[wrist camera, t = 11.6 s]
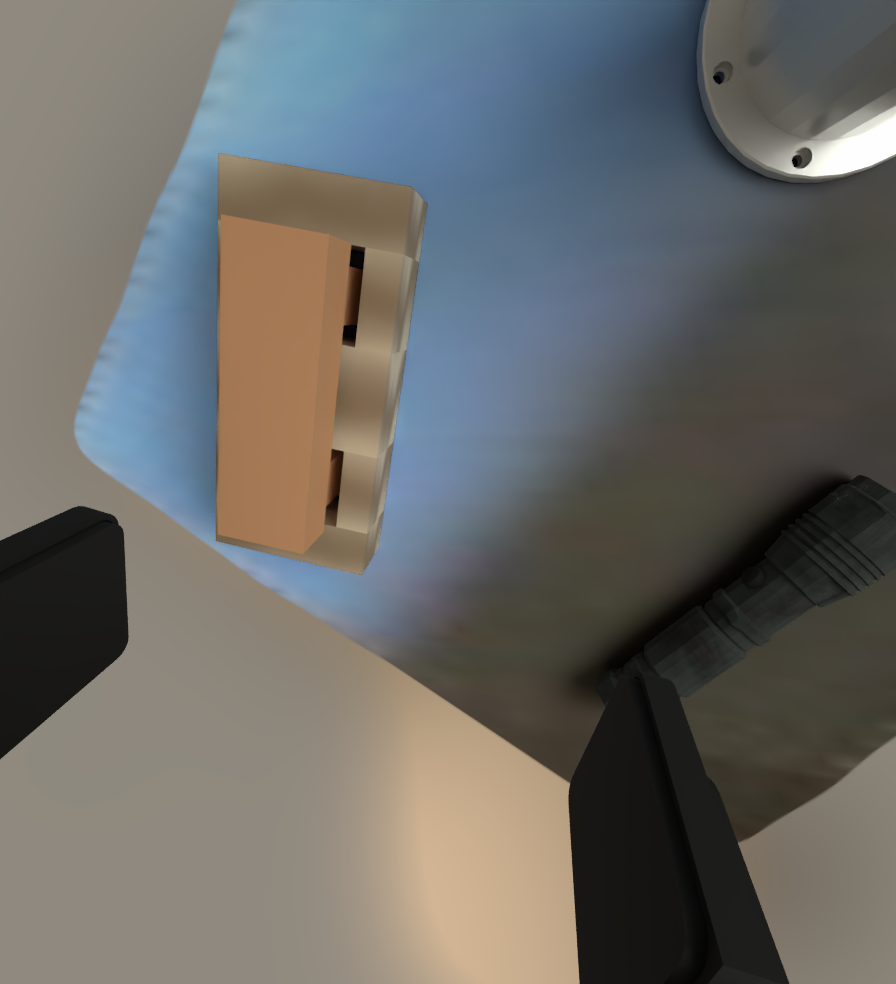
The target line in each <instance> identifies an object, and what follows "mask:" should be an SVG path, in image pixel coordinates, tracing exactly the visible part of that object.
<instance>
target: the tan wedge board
mask: <svg viewBox="0 0 896 984" xmlns="http://www.w3.org/2000/svg"><path fill="white" fill-rule="evenodd" d="M350 254H351V243H349V242H346V241H344V240H342V239H339V238H337V237H334V236H332V235H330V234H325V233H319V232H314V231H309V230H303V229H298V228H292V227H287V226H282V225H276V224H271V223H266V222H260V221H255V220H250V219H244V218H239V217H233V216H228V215H223V214H221V265H220V364H219V463H218V535H222V536H227V537H231V538H235V539H239V540H244V541H248V542H252V543H257V544H261V545H265V546H269V547H274V548H278V549H282V550H286V551H291V552H295V553H299V554H304V553H305V552H306V551H307V550H308V548H309V547H310V546H311V545H312V544H313V543H314V542H315V541H316V540H317V539H318V537H319V536H320V535H321V534H322V533H323V532H324V522H325V511H326V506H327V505H328V504H329V503H330V502H331V501H332V500H333V499H334V498H335V497H336V496H337V495H338V494H339V493H340V486H341V477H342V467H343V458H344V451H340V450H335V449H332V439H333V429H334V419H335V408H336V398H337V388H338V377H339V367H340V357H341V346H342V336H343V326H344V325H357V324H358V315H359V306H360V296H361V287H362V277H363V270H361V269H357V268H354V267H350V266H349V264H350Z"/></svg>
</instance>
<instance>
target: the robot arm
mask: <svg viewBox="0 0 896 984" xmlns="http://www.w3.org/2000/svg"><path fill="white" fill-rule="evenodd" d="M696 55H697V82H698V87H699V91H700V96H701V100H702V105H703V109H704V111H705V114H706V116H707V118H708V120H709V123H710V125H711V127H712V129H713V132H714V133H715V135H716V136H717V137H718V139H719V140H720V141H721V143H722V144H723V145H724V147H725V148H726V149H727V151H728V152H729V153H730V154H732V155H733V156H734V157H735V158H736V159H738V160H739V161H740V162H741V163H742V164H744V165H745V166H746V167H748V168H750V169H752V170H754V171H756V172H758V173H760V174H762V175H764V176H766V177H768V178H773V179H777V180H782V181H786V182H791V183H820V182H825V181H830V180H835V179H841V178H845V177H848V176H851V175H853V174H856V173H859V172H861V171H864V170H867V169H869V168H872V167H874V166H876V165H878V164H880V163H882V162H884V161H886V160H888V159H891V158H893V157H895V156H896V0H706V3H705V7H704V10H703V14H702V17H701V21H700V28H699V36H698V44H697V52H696ZM716 75H718V76H719V77H720V78H721V84H720V85H719V84H717V83H715V81H714V79H713V76H716ZM792 158H795V159H797V166H796V168H795V167H794V166H793V164H792ZM127 643H128V616H127V595H126V572H125V551H124V533H123V529H122V528H121V526H119V525H118V521H117V519H116V518H115V517H114V516H113V515H111V514H108V513H104V512H101V511H97V510H94V509H91V508H87V507H83V506H82V507H81V506H78V507H74V508H72V509H69V510H67V511H65V512H63V513H60V514H59V515H56V516H54V517H52V518H49V519H47V520H45V521H43V522H41V523H38V524H36V525H34V526H32V527H29V528H27V529H25V530H23V531H21V532H18V533H16V534H14V535H12V536H10V537H7V538H5V539H3V540H1V541H0V759H1V758H2V757H3V756H4V755H6V754H7V753H8V752H9V751H10V750H12V749H13V748H14V747H15V746H16V745H17V744H18V743H20V742H21V741H22V740H23V739H24V738H25V737H27V736H28V735H29V734H30V733H31V732H33V731H34V730H35V729H36V728H37V727H38V726H39V725H41V724H42V723H43V722H44V721H45V720H46V719H48V718H49V717H50V716H51V715H52V714H53V713H55V712H56V711H57V710H58V709H59V708H60V707H62V706H63V705H64V704H65V703H66V702H67V701H68V700H70V699H71V698H72V697H73V696H74V695H75V694H77V693H78V692H79V691H80V690H81V689H82V688H84V687H85V686H86V685H87V684H88V683H90V682H91V681H92V680H93V679H94V678H95V677H96V676H98V675H99V674H100V673H101V672H102V671H104V670H105V668H107V667H108V666H109V665H110V664H112V663H113V662H114V661H115V660H116V659H117V658H118V657H119V656H120V655H121V654H122V653H123V651H124V650H125V648H126V645H127ZM569 817H570V834H571V849H572V867H573V883H574V899H575V914H576V931H577V947H578V963H579V980H580V984H789V981H788V979H787V976H786V973H785V970H784V968H783V965H782V963H781V960H780V957H779V954H778V951H777V949H776V946H775V943H774V940H773V938H772V935H771V932H770V930H769V927H768V924H767V921H766V919H765V916H764V913H763V911H762V908H761V905H760V902H759V900H758V897H757V894H756V892H755V889H754V886H753V883H752V881H751V878H750V875H749V873H748V870H747V867H746V864H745V861H744V859H743V856H742V853H741V851H740V848H739V845H738V842H737V840H736V837H735V834H734V832H733V829H732V826H731V823H730V821H729V818H728V815H727V812H726V810H725V807H724V804H723V802H722V799H721V796H720V794H719V792H718V790H717V788H716V786H715V784H714V783H713V782H712V780H711V779H710V778H709V777H707V775H706V772H705V769H704V767H703V764H702V761H701V758H700V755H699V752H698V750H697V747H696V744H695V741H694V738H693V735H692V733H691V730H690V727H689V724H688V721H687V719H686V716H685V713H684V710H683V707H682V704H681V702H680V699H679V696H678V693H677V690H676V687H675V685H674V683H673V682H672V681H671V680H669V679H665V678H662V677H659V676H655V675H652V674H649V673H645V672H642V671H635V672H634V673H633V674H632V675H631V677H628V676H622V677H621V678H620V679H619V681H618V683H617V685H616V687H615V689H614V691H613V694H612V696H611V698H610V700H609V702H608V704H607V706H606V708H605V710H604V712H603V714H602V716H601V719H600V721H599V723H598V725H597V727H596V729H595V731H594V733H593V735H592V737H591V739H590V741H589V744H588V746H587V748H586V750H585V752H584V754H583V756H582V758H581V760H580V762H579V764H578V766H577V769H576V771H575V773H574V775H573V777H572V780H571V783H570V788H569Z"/></svg>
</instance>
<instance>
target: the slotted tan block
mask: <svg viewBox="0 0 896 984" xmlns="http://www.w3.org/2000/svg"><path fill="white" fill-rule="evenodd" d="M426 210H427V203H426V202H425V201H424V200H423V199H422V198H421V196H420V195H419V194H418V193H417V192H416V191H415V189H414V188H413V187H409V186H404V185H398V184H392V183H386V182H381V181H375V180H369V179H364V178H358V177H352V176H347V175H341V174H335V173H330V172H324V171H318V170H312V169H307V168H301V167H295V166H290V165H284V164H278V163H273V162H267V161H261V160H256V159H250V158H244V157H239V156H233V155H227V154H221V153H218V293H217V435H216V541H218V542H222V543H227V544H231V545H235V546H239V547H244V548H248V549H252V550H256V551H261V552H265V553H269V554H274V555H278V556H282V557H286V558H291V559H295V560H299V561H303V562H308V563H312V564H316V565H320V566H325V567H329V568H333V569H337V570H342V571H346V572H350V573H354V574H359V575H362V574H363V572H364V570H365V569H366V567H367V565H368V564H369V562H370V561H371V559H372V557H373V556H374V554H375V552H376V551H377V549H378V547H379V540H380V533H381V526H382V519H383V512H384V505H385V498H386V491H387V484H388V477H389V470H390V463H391V456H392V449H393V442H394V435H395V428H396V421H397V413H398V406H399V399H400V392H401V385H402V378H403V371H404V364H405V357H406V350H407V343H408V336H409V329H410V322H411V315H412V308H413V301H414V294H415V287H416V280H417V273H418V266H419V259H420V252H421V245H422V238H423V231H424V224H425V217H426ZM221 214H223V215H228V216H233V217H239V218H244V219H250V220H255V221H260V222H266V223H271V224H276V225H282V226H287V227H292V228H298V229H303V230H309V231H314V232H319V233H325V234H330V235H332V236H334V237H337V238H339V239H342V240H344V241H346V242H349V243H351V250H356V251H362V252H365V258H364V268H363V277H362V287H361V296H360V306H359V315H358V325H357V334H356V339H351V338H346V337H342V346H341V357H340V367H339V377H338V388H337V398H336V408H335V419H334V429H333V439H332V449H335V450H340V451H344V458H343V467H342V477H341V486H340V496H339V500H336V499H333V500H332V501H331V502H330V503H329V504H328V505H327V506H326V511H325V522H324V532H323V533H322V534H321V535H320V536H319V537H318V539H317V540H316V541H315V542H314V543H313V544H312V545H311V546H310V547H309V548H308V550H307V551H306V552H305V553H304V554H299V553H295V552H291V551H286V550H282V549H278V548H274V547H269V546H265V545H261V544H257V543H252V542H248V541H244V540H239V539H235V538H231V537H227V536H222V535H218V463H219V364H220V265H221Z"/></svg>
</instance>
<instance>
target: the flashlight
mask: <svg viewBox="0 0 896 984" xmlns="http://www.w3.org/2000/svg"><path fill="white" fill-rule="evenodd" d="M808 512H809V513H808V514H807V513H804V514H803V515H802V516H803V517H802V518H801V519H799V518H797V519H796V520H795V524H794V525H792V524H790V525H789V526H787V527H788V529H787V530H782V531H781V533H782V534H781V536H780V537H779V538H778V539H777V540H776V541H775V542H774V543H773V544H772V546H771V547H770V548H769V549H768V550H767V551H766V552H765V553H764V554H765V556H766V557H767V558H765V559H764V560H763V561H761V562H760V563H759V564H757V565H756V566H752V567H749V568H747V569H745V570H744V571H743V573H742V575H741V577H740V578H739V579H737V580H736V581H735V582H733V583H732V584H731V585H729V586H728V587H727V588H725V589H721V588H720V589H718V590H717V591H716V592H714V593H713V598H712V599H711V600H710V601H708V602H707V603H706V604H705V606H698V605H697V606H696V607H694V608H693V609H692V610H690V611H689V612H688V613H686V614H685V615H684V616H682V617H681V618H680V619H678V620H677V621H676V622H674V623H673V624H672V625H670V626H669V627H668V628H667V629H665V630H664V631H663V632H661V633H660V634H659V635H657V636H656V637H655V638H653V639H652V640H651V641H649V642H648V643H647V644H645V646H644V651H642V652H641V653H637V654H636V655H635V656H633V657H632V658H631V660H630V661H629V662H627V663H626V664H625V665H624V666H622V667H621V668H619V669H615V668H614V669H610V670H608V671H607V672H605V673H604V674H602V675H601V676H599V677H598V683H597V685H596V689H597V691H598V693H599V695H600V697H601V699H602V701H603V702H604V704H605V707H606V706H607V704H608V702H609V700H610V698H611V696H612V694H613V691H614V689H615V687H616V685H617V683H618V681H619V679H620V678H621V677H622V676H628V677H631V675H632V674H633V673H634V672H635V671H642V672H645V673H649V674H652V675H655V676H659V677H662V678H665V679H669V680H671V681H672V682H673V683H674V685H675V687H676V690H677V693H678V696H679V698H680V696H682V697H689V696H690V695H692V694H693V693H695V692H696V691H698V690H699V689H701V688H702V687H703V686H705V685H706V684H708V683H709V682H711V681H712V680H713V679H715V678H716V677H718V676H719V675H720V674H722V673H723V672H725V671H726V670H728V669H729V668H731V667H732V666H734V665H735V664H737V663H739V662H740V661H742V660H743V659H745V658H746V651H749V650H751V649H752V648H754V647H755V646H757V645H758V646H763V645H765V644H766V643H768V642H769V641H771V635H773V634H774V633H776V632H777V631H779V630H780V629H782V628H783V627H785V626H786V625H788V624H789V623H791V622H792V621H794V620H795V619H797V618H798V617H800V616H801V615H802V614H804V613H805V612H807V611H808V610H810V609H811V608H813V607H814V606H816V605H818V606H819V607H824V606H826V605H829V604H831V603H833V602H836V601H838V600H840V599H843V598H845V597H847V596H850V595H851V596H852V597H853V596H855V595H856V593H855V592H856V591H858V590H859V591H863V590H864V589H865V588H864V586H866V585H868V586H870V585H872V584H873V580H875V579H876V580H880V579H881V578H882V577H881V575H883V576H885V575H887V574H888V573H890V572H891V571H893V570H894V569H896V494H895V493H893V492H892V491H890V490H888V489H887V488H885V487H883V486H882V485H880V484H878V483H876V482H875V481H873V480H871V479H870V478H868V477H865V476H862V475H858V476H857V477H855V478H854V479H853V480H851V481H850V482H849V483H848V484H842V485H841V486H839V487H838V488H837V489H835V490H834V491H833V492H832V493H830V494H829V495H828V496H826V497H825V498H824V499H822V500H821V501H820V502H818V503H817V504H816V505H815V506H813V507H812V508H811V509H809V510H808Z"/></svg>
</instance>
